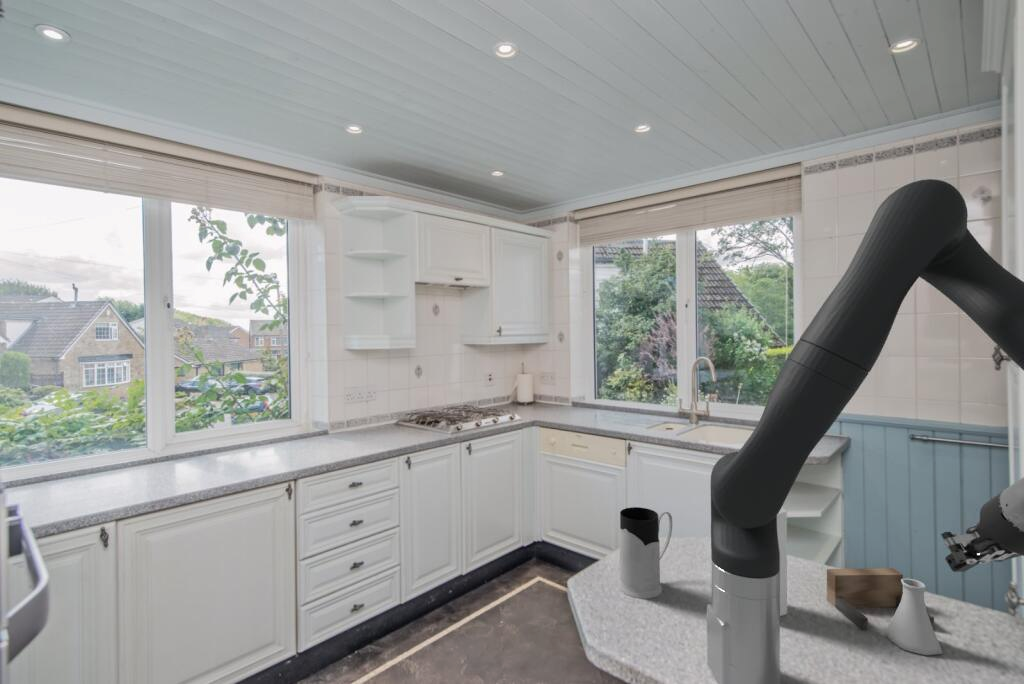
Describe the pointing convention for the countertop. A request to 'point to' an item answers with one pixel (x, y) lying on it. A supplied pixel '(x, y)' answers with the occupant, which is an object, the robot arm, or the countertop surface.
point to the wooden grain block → (864, 591)
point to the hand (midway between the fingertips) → (953, 564)
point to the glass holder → (641, 552)
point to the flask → (913, 621)
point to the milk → (782, 558)
